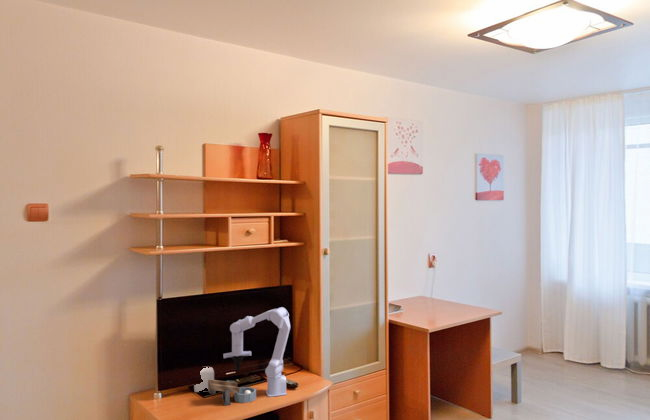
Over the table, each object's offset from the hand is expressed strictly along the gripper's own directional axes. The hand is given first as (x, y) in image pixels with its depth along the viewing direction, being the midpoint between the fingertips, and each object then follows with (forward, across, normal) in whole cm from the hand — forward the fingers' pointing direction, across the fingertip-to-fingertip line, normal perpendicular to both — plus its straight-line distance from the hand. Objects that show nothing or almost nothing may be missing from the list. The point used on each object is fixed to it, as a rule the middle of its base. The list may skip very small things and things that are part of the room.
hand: (237, 370), depth 269 cm
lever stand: (+10, +8, +15) cm, 20 cm away
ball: (+8, -3, +15) cm, 17 cm away
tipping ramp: (+6, +10, +11) cm, 16 cm away
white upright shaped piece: (+10, +17, -3) cm, 20 cm away
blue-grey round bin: (+10, -2, +15) cm, 18 cm away
